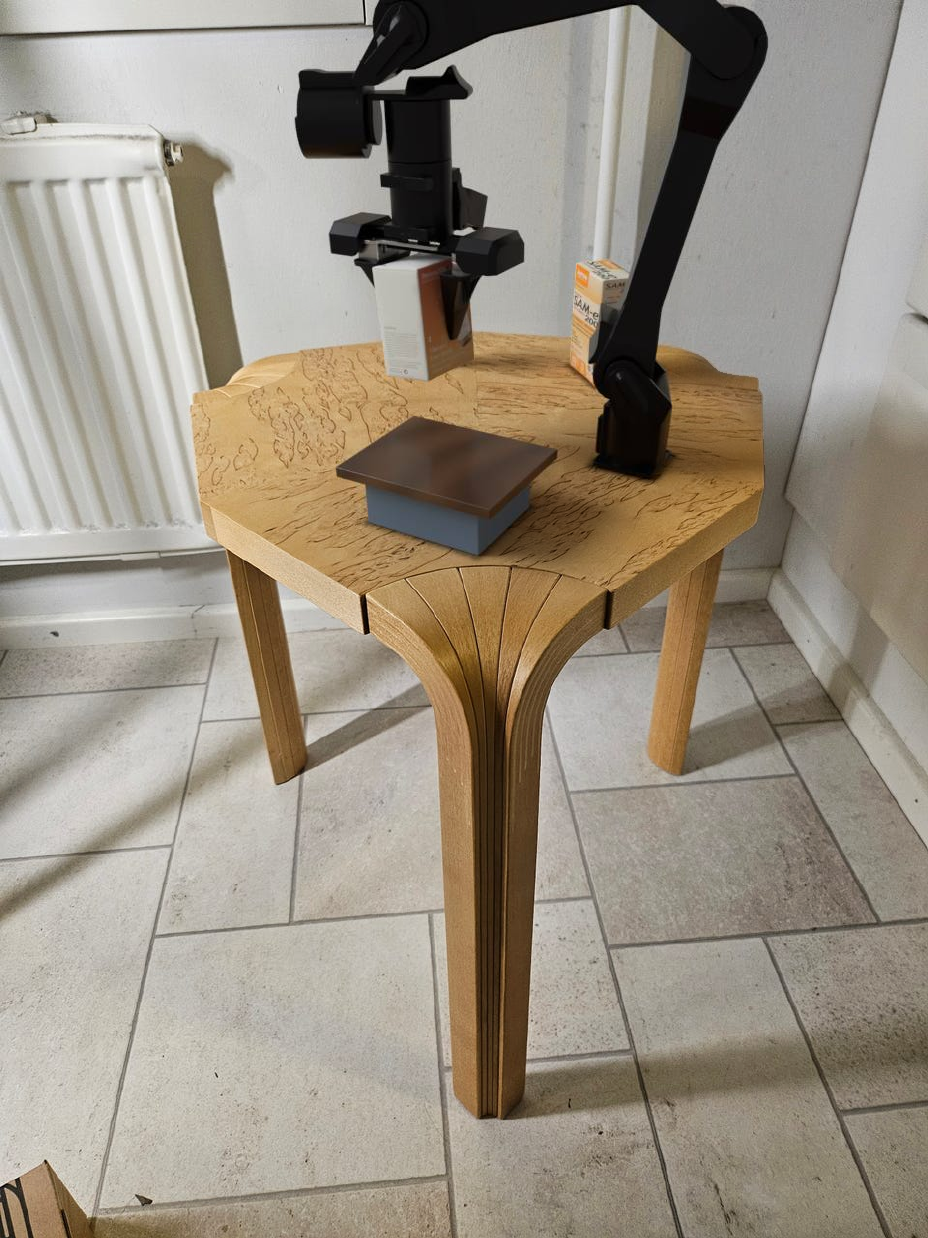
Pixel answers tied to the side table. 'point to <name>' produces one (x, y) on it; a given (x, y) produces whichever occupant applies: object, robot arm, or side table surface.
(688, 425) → the side table surface
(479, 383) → the side table surface
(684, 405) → the side table surface
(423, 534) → the blue box
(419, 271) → the small box
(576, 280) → the supplement box
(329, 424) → the side table surface
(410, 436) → the wooden board
